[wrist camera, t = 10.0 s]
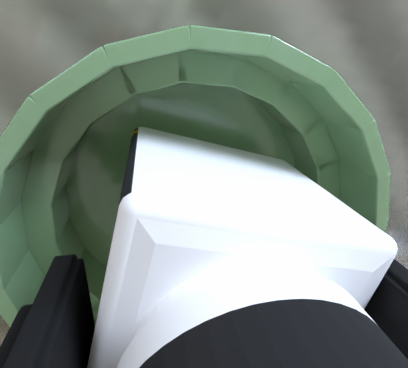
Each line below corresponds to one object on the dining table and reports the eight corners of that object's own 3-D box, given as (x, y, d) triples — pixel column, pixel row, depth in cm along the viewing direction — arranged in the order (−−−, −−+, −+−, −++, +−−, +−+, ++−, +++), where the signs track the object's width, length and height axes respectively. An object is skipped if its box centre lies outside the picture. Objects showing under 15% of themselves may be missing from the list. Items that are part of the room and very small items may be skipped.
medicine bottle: (134, 122, 12) (10, 798, 1) (286, 158, 14) (812, 525, 3) (106, 264, 14) (-22, 929, 3) (239, 278, 16) (433, 728, 5)
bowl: (364, 170, 17) (452, 214, 12) (201, 333, 20) (219, 422, 15) (163, -47, 12) (178, -128, 7) (-28, 225, 14) (-119, 312, 9)
